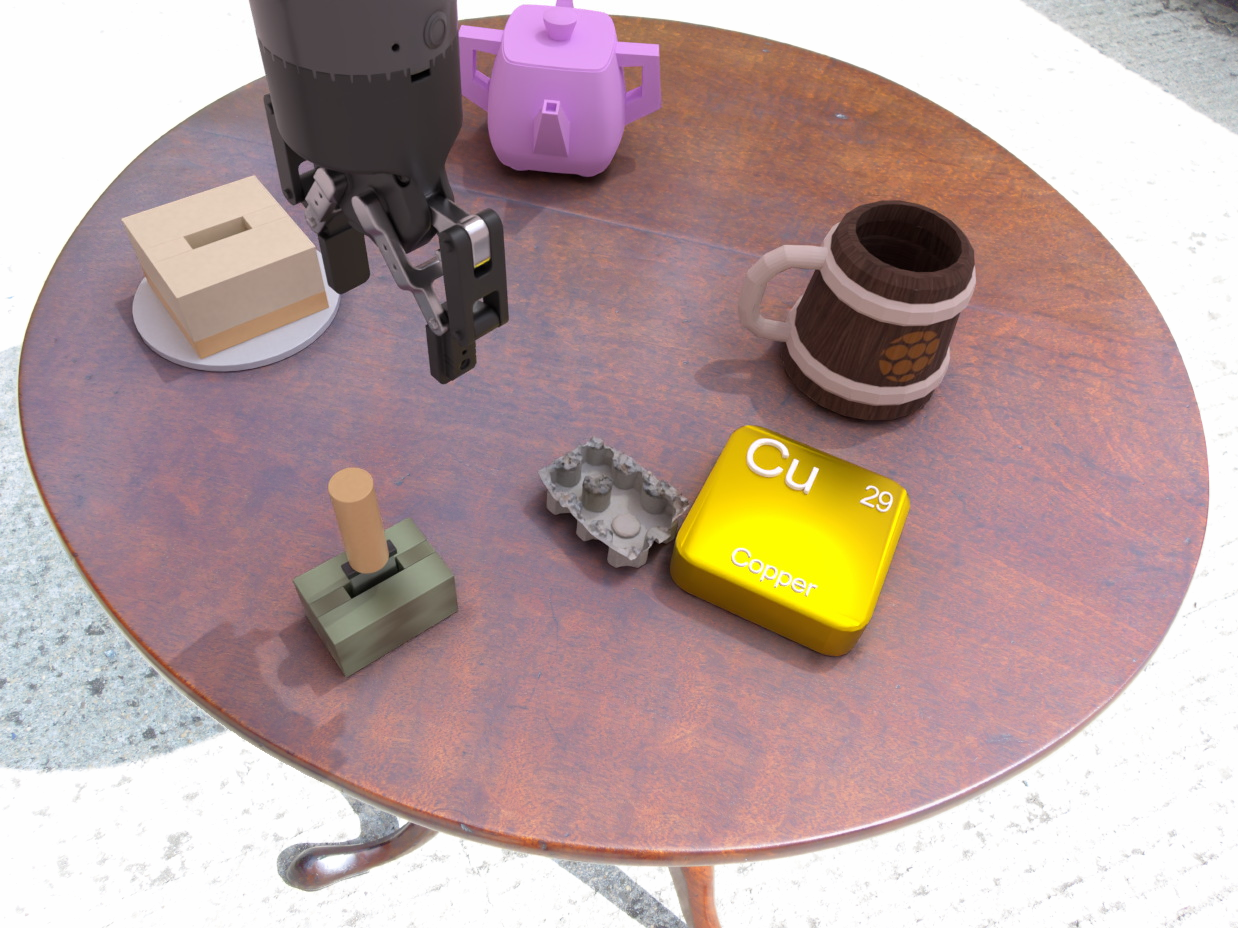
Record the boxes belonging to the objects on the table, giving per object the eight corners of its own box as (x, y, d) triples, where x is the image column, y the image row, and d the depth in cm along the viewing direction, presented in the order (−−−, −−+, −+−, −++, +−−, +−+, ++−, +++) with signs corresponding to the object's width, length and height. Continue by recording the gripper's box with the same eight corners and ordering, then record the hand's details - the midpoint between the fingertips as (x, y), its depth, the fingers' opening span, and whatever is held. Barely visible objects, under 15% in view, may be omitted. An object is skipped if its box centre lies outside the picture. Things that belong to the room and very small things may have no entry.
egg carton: (689, 533, 73) (697, 503, 70) (620, 585, 69) (625, 557, 66) (600, 450, 77) (603, 419, 74) (530, 496, 74) (531, 465, 70)
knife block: (346, 678, 63) (334, 644, 59) (305, 615, 66) (291, 579, 62) (458, 610, 67) (454, 575, 63) (416, 553, 70) (409, 516, 66)
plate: (103, 363, 79) (100, 356, 78) (173, 231, 90) (171, 224, 89) (315, 379, 80) (313, 373, 79) (358, 246, 91) (357, 240, 90)
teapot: (562, 84, 112) (565, -46, 100) (671, 152, 105) (690, 21, 93) (437, 141, 103) (425, 6, 91) (548, 220, 96) (551, 85, 84)
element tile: (659, 582, 70) (667, 548, 66) (731, 448, 79) (741, 411, 75) (847, 667, 67) (866, 637, 63) (900, 518, 75) (920, 483, 72)
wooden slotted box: (200, 359, 79) (176, 298, 73) (147, 281, 84) (120, 218, 79) (329, 307, 84) (315, 246, 78) (270, 236, 89) (254, 174, 84)
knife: (369, 639, 65) (332, 513, 53) (351, 612, 66) (312, 483, 54) (414, 612, 67) (388, 485, 54) (396, 587, 68) (367, 456, 55)
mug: (922, 318, 91) (982, 189, 79) (949, 435, 81) (1021, 309, 70) (723, 300, 90) (752, 167, 78) (727, 415, 81) (761, 285, 69)
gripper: (165, -31, 36) (258, 288, 48) (392, 134, 30) (429, 445, 43) (330, -77, 39) (375, 231, 52) (558, 63, 34) (547, 369, 47)
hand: (400, 327), depth 47 cm, fingers open, 8 cm apart
